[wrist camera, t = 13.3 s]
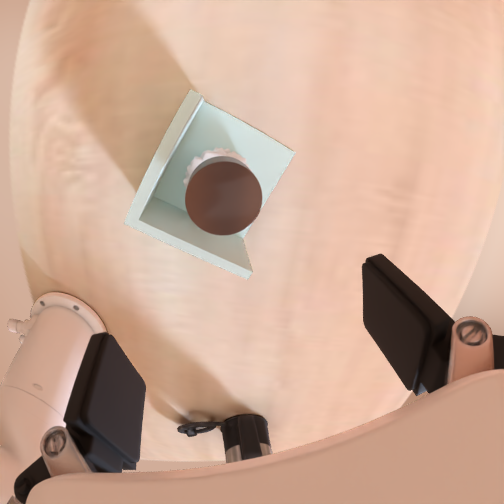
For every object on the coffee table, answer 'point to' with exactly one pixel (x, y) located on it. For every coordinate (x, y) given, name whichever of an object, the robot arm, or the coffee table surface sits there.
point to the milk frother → (237, 436)
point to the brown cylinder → (223, 196)
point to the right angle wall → (182, 166)
